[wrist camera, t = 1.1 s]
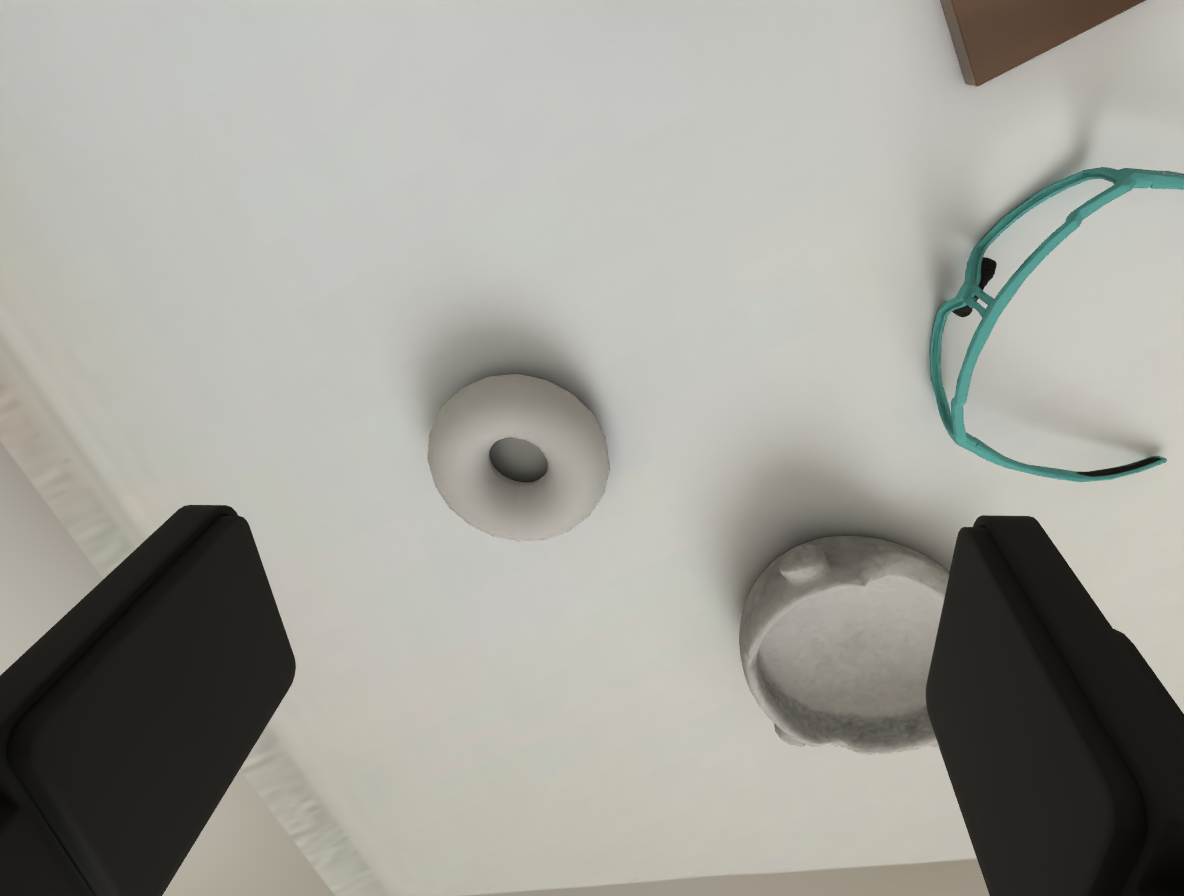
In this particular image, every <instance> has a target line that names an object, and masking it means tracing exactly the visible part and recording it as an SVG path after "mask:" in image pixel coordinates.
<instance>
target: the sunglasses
mask: <svg viewBox="0 0 1184 896" xmlns="http://www.w3.org/2000/svg"><path fill="white" fill-rule="evenodd" d="M1098 178H1099V179H1105V180H1108V181H1110V182H1113V183H1114V184H1115V185H1113V186H1112V187H1110V188H1109V189H1107V190H1105V191H1104V192H1102V193H1100V194H1099V195H1097V196H1095V197H1094V198H1092V199H1090V200H1089V201H1087V202H1086V203H1084V204H1083V205H1081V206H1080V207H1078V208H1077V209H1076V210H1074V211H1073V212H1071V213H1070V214H1069V216H1068V217H1067V219H1066V222H1065V223H1064V224H1063V225H1062V226H1061V227H1059V228H1058V229H1057V230H1056V231H1055V232H1053V233H1052V234H1051V235H1050V236H1049V237H1048V238H1047V239H1046V240H1045V241H1044V242H1043V243H1042V244H1041V245H1040V246H1039V247H1038V248H1037V249H1036V250H1035V251H1034V252H1033V253H1032V254H1031V255H1030V256H1029V257H1028V258H1027V259H1026V260H1025V262H1024V263H1023V264H1022V265H1021V266H1020V267H1019V269H1018V270H1017V271H1016V272H1015V273H1014V274H1013V275H1012V277H1011V278H1010V279H1009V280H1008V282H1007V283H1006V284H1005V285H1004V287H1003V288H1002V289H1001V291H1000V292H999V293H998V295H997V296H996V298H995V299H993V298H992V297H990V296H989V295H988V294H986V293H985V292H983V289H984V287H985V286H986V285H987V283H988V282H989V280H991V279H992V278H993V275H994V274H995V269H996V265H997V264H996V262H995V261H994V260H991V259H989V258H985V257H983V255H984V253H985V250H986V249H987V247H988V246H989V245H990V244H991V243H992V242H993V241H994V240H995V239H996V238H997V237H998V236H999V235H1000V234H1001V233H1002V232H1003V231H1004V230H1005V229H1006V228H1008V227H1009V226H1010V225H1011V224H1012V223H1014V222H1015V221H1016V220H1017V219H1018V218H1019V217H1021V216H1022V215H1023V214H1025V213H1026V212H1027V211H1029V210H1030V209H1032V208H1033V207H1035V206H1037V205H1038V204H1040V203H1041V202H1043V201H1045V200H1046V199H1048V198H1050V197H1052V196H1054V195H1056V194H1058V193H1059V192H1061V191H1063V190H1065V189H1067V188H1069V187H1072V186H1074V185H1076V184H1079V183H1081V182H1084V181H1086V180H1090V179H1098ZM1149 187H1151V188H1152V189H1181V190H1184V174H1182V173H1176V172H1170V171H1151V170H1142V169H1131V168H1124V169H1120V170H1116V169H1112V168H1104V167H1101V168H1095V169H1089V170H1083V171H1081V172H1079V173H1076V174H1074V175H1072V176H1069V177H1067V178H1065V179H1063V180H1060V181H1058V182H1056V183H1054V184H1052V185H1050V186H1049V187H1047V188H1045V189H1043V190H1042V191H1040V192H1038V193H1037V194H1035V195H1034V196H1032V197H1031V198H1029V199H1028V200H1027V201H1025V202H1024V203H1023V204H1021V205H1020V206H1019V207H1017V208H1016V209H1015V210H1013V211H1012V212H1011V213H1009V214H1008V215H1007V216H1005V217H1004V218H1003V219H1001V220H1000V221H999V222H998V223H997V224H996V225H995V226H994V227H993V228H992V229H991V230H990V231H989V232H988V233H987V234H986V235H985V237H984V238H983V239H982V240H981V241H980V242H979V243H978V244H977V245H976V246H975V247H974V249H973V251H972V253H971V255H970V257H969V260H968V262H967V268H966V272H965V282H964V284H963V285H962V287H961V289H960V290H959V292H958V294H957V296H956V297H955V298H953V299H951V300H949V301H945V302H944V303H943V304H942V305H941V306H940V307H939V309H938V312H937V315H936V319H935V323H934V326H933V333H932V341H931V349H930V366H931V380H932V384H933V388H934V392H935V396H936V400H937V404H938V409H939V413H940V416H941V419H942V421H943V424H944V426H945V428H946V430H947V431H948V433H949V435H950V436H951V438H952V439H953V440H954V442H955V443H956V444H958V445H959V446H961V447H963V448H965V449H967V450H969V451H971V452H973V453H975V454H976V455H978V456H980V457H982V458H984V459H986V460H988V461H990V462H992V463H995V464H997V465H1000V466H1003V467H1006V468H1009V469H1013V470H1018V471H1022V472H1026V473H1030V474H1034V475H1038V476H1043V477H1049V478H1054V479H1061V480H1069V481H1076V482H1087V481H1100V480H1111V479H1115V478H1119V477H1123V476H1126V475H1130V474H1134V473H1138V472H1141V471H1144V470H1146V469H1149V468H1152V467H1154V466H1157V465H1160V464H1162V463H1165V462H1166V461H1167V459H1166V458H1163V457H1160V456H1151V457H1148V458H1146V459H1143V460H1140V461H1137V462H1134V463H1131V464H1128V465H1123V466H1119V467H1115V468H1109V469H1103V470H1096V471H1090V472H1075V471H1068V470H1062V469H1055V468H1048V467H1041V466H1033V465H1027V464H1023V463H1020V462H1017V461H1014V460H1012V459H1009V458H1007V457H1005V456H1003V455H1001V454H999V453H998V452H996V451H995V450H993V449H992V448H990V447H989V446H987V445H986V444H984V443H983V442H981V441H980V440H978V439H977V438H975V437H972V436H971V435H970V434H968V433H966V431H965V426H964V421H963V405H964V404H965V403H966V400H967V395H968V390H969V386H970V381H971V376H972V372H973V369H974V366H975V363H976V361H977V358H978V356H979V354H980V352H981V350H982V348H983V346H984V344H985V342H986V340H987V339H988V337H989V335H990V333H991V331H992V329H993V327H994V325H995V323H996V321H997V319H998V317H999V316H1000V314H1001V313H1002V311H1003V310H1004V308H1005V307H1006V306H1007V304H1008V303H1009V301H1010V300H1011V299H1012V297H1013V296H1014V294H1015V293H1016V292H1017V290H1018V289H1019V287H1020V286H1021V285H1022V283H1023V282H1024V280H1025V279H1026V278H1027V277H1028V276H1029V274H1030V273H1031V272H1032V271H1033V270H1034V269H1035V268H1036V267H1037V266H1038V265H1039V263H1040V262H1041V261H1042V260H1043V259H1044V258H1045V257H1046V256H1047V255H1048V254H1049V253H1050V252H1051V251H1052V250H1053V249H1054V248H1055V247H1056V246H1057V245H1059V244H1060V243H1061V242H1062V241H1063V240H1064V239H1065V238H1066V237H1067V236H1068V235H1069V234H1071V233H1072V232H1073V231H1074V230H1076V229H1077V228H1078V227H1079V226H1080V224H1081V222H1082V220H1083V219H1085V218H1086V217H1088V216H1089V215H1090V214H1092V213H1093V212H1095V211H1096V210H1098V209H1099V208H1100V207H1102V206H1103V205H1105V204H1107V203H1108V202H1110V201H1112V200H1114V199H1116V198H1117V197H1119V196H1121V195H1123V194H1125V193H1126V192H1128V191H1130V190H1132V188H1149ZM978 298H980V299H981V300H982V301H983V302H985V303H986V304H987V305H988V307H987V308H986V309H985V308H983V307H982V306H981V305H980V304H979V303H977V302H976V301H977V300H978ZM972 308H975V309H976V310H977V311H978V312H979V313H980V315H981V316H982V320H981V322H980V324H979V326H978V328H977V330H976V331H975V333H974V335H973V338H972V340H971V342H970V345H969V347H968V350H967V353H966V356H965V359H964V362H963V365H962V368H961V371H960V374H959V377H958V380H957V386H956V392H955V397H954V398H953V399H952V401H951V413H950V409H949V405H948V402H947V398H946V395H945V392H944V388H943V385H942V378H941V371H940V358H941V337H942V332H943V329H944V325H945V322H946V318H947V315H948V314H949V313H950V312H953V313H955V314H956V315H958V316H960V317H966V316H968V315H969V314H970V313H971V312H972Z"/></svg>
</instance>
